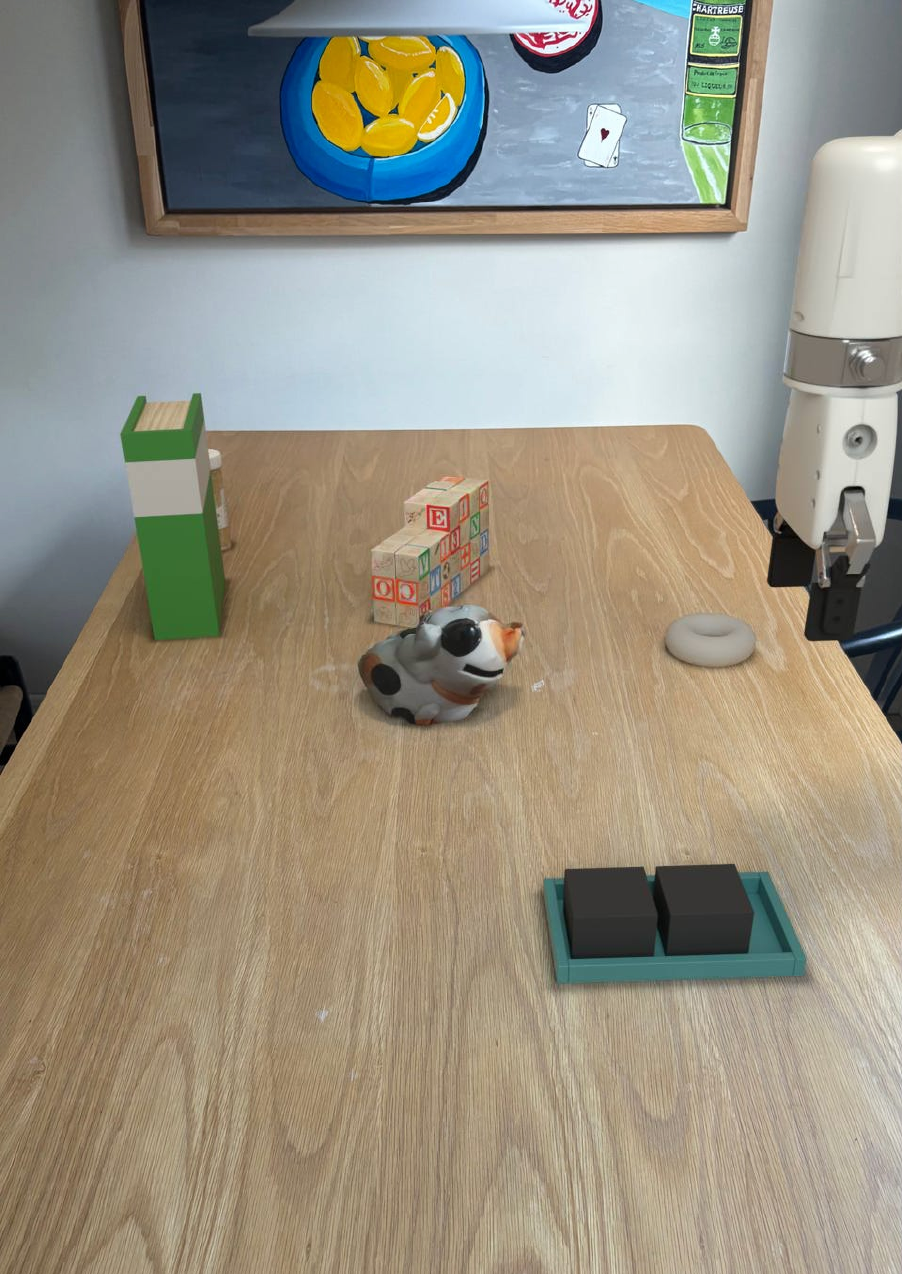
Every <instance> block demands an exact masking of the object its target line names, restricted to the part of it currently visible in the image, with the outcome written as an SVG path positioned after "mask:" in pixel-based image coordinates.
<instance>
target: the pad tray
mask: <svg viewBox="0 0 902 1274" xmlns="http://www.w3.org/2000/svg"><path fill="white" fill-rule="evenodd" d="M738 873H739V876H740V878H741V881H742V883H743V885H744V888H745V890H746V893H747V895H748V898H749V900H750V903H751V905H752V908H753V910H754V918H753V925H752V931H751V938H750V945H749V951H748V954H721V955H690V956H665V952H664V949H663V945H662V942H661V938H660V935H659V931H658V928H657V929H656V940H655V950H654V957H627V958H595V959H571V954H570V949H569V943H568V937H567V931H566V926H565V920H564V914H563V894H564V877H554V878H553V877H552V878H551V877H550V878H549V877H547V878H546V877H545V878H543V885H542V886H543V887H542V889H543V890H542V895H543V902H544V903H543V904H544V908H545V916H546V922H547V928H548V929H547V930H548V934H549V940H550V948H551V955H552V960H553V967H554V973H555V979H556V984H582V983H583V984H584V983H586V984H587V983H611V982H612V983H614V982H615V983H616V982H646V981H647V982H648V981H673V980H674V981H676V980H678V981H680V980H681V981H682V980H706V979H707V980H709V979H712V980H713V979H738V978H739V979H740V978H741V979H743V978H744V979H745V978H771V977H774V978H775V977H800V976H804V975H805V970H806V965H807V959H808V958H807V956H806V954H805V952H804V949H803V947H802V944H801V942H800V940H799V938H798V936H797V933H796V931H795V929H794V927H793V924H792V922H791V920H790V918H789V916H788V915H789V914H787V911H786V909H785V906H784V905H783V902H782V899H781V897H780V896H779V893H778V890H777V889H776V886H775V884H774V882H773V880H772V878H771V875H770V873H769V871H744V872H743V871H741V872H739V871H738ZM646 876H647V880H648V883H649V886H650V890H651V893H652V897H653V890H654V879H655V874H646Z"/></svg>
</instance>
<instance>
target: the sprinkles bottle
mask: <svg viewBox="0 0 902 1274" xmlns="http://www.w3.org/2000/svg"><path fill="white" fill-rule="evenodd" d="M208 452H209V460H210V468H211V476H212V483H213V491H214V499H215V506H216V514H217V522H218V530H219V537H220V545H221V552H224V551H226V550H229V549H230V548H231V547H232V542H231V539H230V531H229V520H228V519H229V518H228V511H227V503H226V495H225V487H224V482H223V477H222V476H223V474H222V473H223V472H222V465H223V464H222V456H221V452H220V451H219V450H217V449H212V448H208Z"/></svg>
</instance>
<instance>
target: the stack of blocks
mask: <svg viewBox="0 0 902 1274" xmlns="http://www.w3.org/2000/svg"><path fill="white" fill-rule="evenodd" d="M489 484H490V483H489V479H481V478H472V477H461V476H451V475H443V476H442V477H440V478H438V479H437V480H433V481H431V482H430V483H429V484H427V485H426V486H424V488H422V489H420V490H419V491H418V492H416V493H414V495H412V496H411V497H409V498H408V499H406V500H405V501H403V507H404V508H403V512H404V513H403V515H404V527H402V528H400V529H399V530H398V531H397V532H395V533H393V534H392V535H390V536H389V537H387V538H386V539H385V540H383V541H382V542H381V543H379V544H377V545H376V546H374V547H373V548H372V549H371V550H370V552H371V553H370V554H371V557H370V559H371V569H372V570H371V573H372V575H371V591H372V592H371V593H372V606H373V621H374V622H375V623H379V624H380V623H381V624H388V625H394V626H399V627H405V628H410V629H412V628H416V627H417V625H418V624H419V622H420V616H421V615H422V613H424V612H425V611H426V610H432V611H433V612H434V611H435V610H437V609H439V608H442V607H448V605H449V604H451V602H452V601H453V600H455V598H456V597H458V595H460V594H461V593H462V592H464V591H465V590H466V589H467V588H468V587H469V586H470V585H472V584H474V582H476V581H477V580H479V578H480V577H482V576H483V575H484V574H485V573H486V572H487V571H489V570H490V549H489V547H490V546H489V544H490V542H489V538H490V537H489V533H490V532H489V531H490V530H489V529H490V528H489V527H490V504H489V496H490V495H489V494H490V492H489V491H490V490H489V487H490V486H489Z"/></svg>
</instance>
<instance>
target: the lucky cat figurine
mask: <svg viewBox="0 0 902 1274" xmlns="http://www.w3.org/2000/svg"><path fill="white" fill-rule="evenodd" d="M526 634H527V632H526V631H524V628H523V623H522V622H518V621H512V622H509V623H506V624H504V623H503V622H502V621H501V620H500V619H499V618H498V617H497V616H495V615H494V614H493V613H492V612H490V611H488V610H486V609H485V608H484V607H482V606H479V605H474V604H467V603H466V604H463V605H457V606H454V605H453V606H445V607H442V608H439V609H437V610H435V611H434V612H433V611H432V610H426V611H425V612H424V613H422V615H421V616H420V622H419V624H418V625H417V627H416V628H407V629H401V630H399V631H397V632H395V633H392V634H390V635H389V636H388V637H386V638H385V639H384V640H381V641H379V642H377V643H376V644H374V645H373V646H372V647H370V648H369V649H368V650H367V651H366V652H365V654H362V655H361V656H360V659H359V660H358V662H357V668H358V673H359V676H360V678H361V680H362V683H363V684H364V687H366V689H367V691H368V692H369V694H370V696H371V697H372V698H373V700H374V701H375V702H376V703H377V704H378V705H379V706H380V707H381V708H382V709H383V710H384V711H385V713H388V715H389V716H392V717H400V716H403V717H404V718H405V719H406V721H407V722H408V723H409V724H410V725H415V726H421V727H424V726H432V725H436V724H444V723H449V722H457V721H460V720H464V719H466V718H468V716H469V715H470V714H471V712H472V711H474V708H477V707H478V705H479V703H480V702H479V701H480V699H481V698H482V697H483V696H484V695H485V694H486V693H488V692H490V691H492V690H493V688H494V687H495V685H496V684H497V683H498V682H499V681H500V680H501V679H502V678H503V676H504V674H505V672H506V668H507V667H508V666H509V664H510V663H511V661H512V660H513V658H515V657H516V656H517V655H519V653H520V652H521V651H522V649H523V642H524V639H525V637H526Z"/></svg>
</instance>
